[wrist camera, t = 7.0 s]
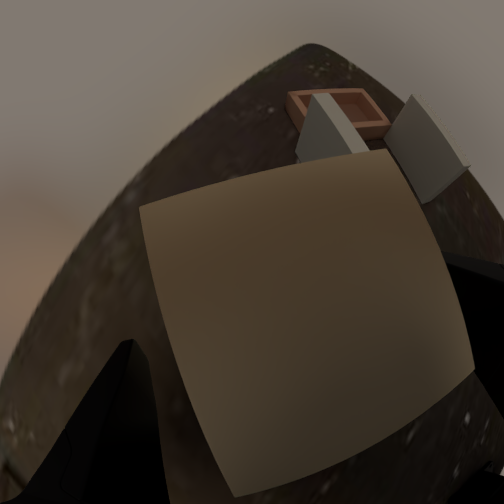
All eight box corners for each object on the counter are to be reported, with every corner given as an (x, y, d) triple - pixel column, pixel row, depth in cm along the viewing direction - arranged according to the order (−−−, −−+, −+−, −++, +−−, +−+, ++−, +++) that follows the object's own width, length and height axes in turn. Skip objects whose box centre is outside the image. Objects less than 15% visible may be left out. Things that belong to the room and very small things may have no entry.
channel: (430, 201, 19) (471, 165, 14) (333, 231, 18) (371, 186, 12) (392, 137, 21) (420, 95, 16) (295, 151, 20) (312, 93, 14)
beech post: (316, 354, 15) (474, 368, 4) (235, 383, 14) (234, 497, 3) (288, 277, 16) (386, 148, 5) (208, 303, 16) (138, 207, 4)
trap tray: (383, 138, 21) (391, 125, 19) (308, 149, 20) (314, 132, 18) (356, 102, 23) (362, 88, 21) (284, 108, 21) (287, 91, 20)
